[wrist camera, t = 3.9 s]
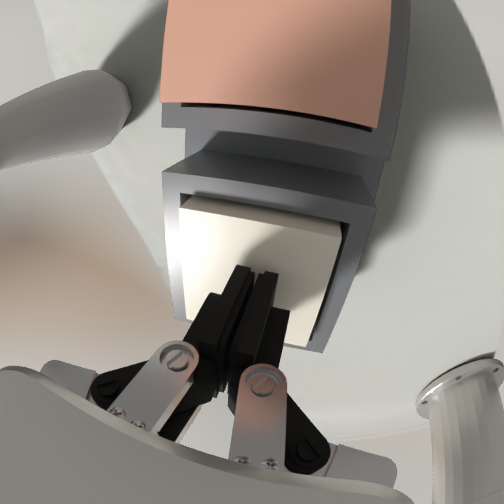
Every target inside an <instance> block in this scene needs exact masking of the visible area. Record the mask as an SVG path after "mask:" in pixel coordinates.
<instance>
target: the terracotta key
mask: <svg viewBox="0 0 504 504" xmlns="http://www.w3.org/2000/svg"><path fill="white" fill-rule="evenodd" d="M390 20H391V0H169V2H168V9H167V16H166V25H165V34H164V44H163V55H162V68H161V86H160V103H165V102H194V103H221V104H236V105H248V106H258V107H267V108H275V109H283V110H290V111H296V112H303V113H309V114H314V115H320V116H325V117H330V118H335V119H339V120H344V121H348V122H353V123H357V124H361V125H365V126H369V127H373V128H376V129H377V124H378V118H379V113H380V107H381V101H382V94H383V88H384V80H385V73H386V65H387V56H388V46H389V34H390Z"/></svg>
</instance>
